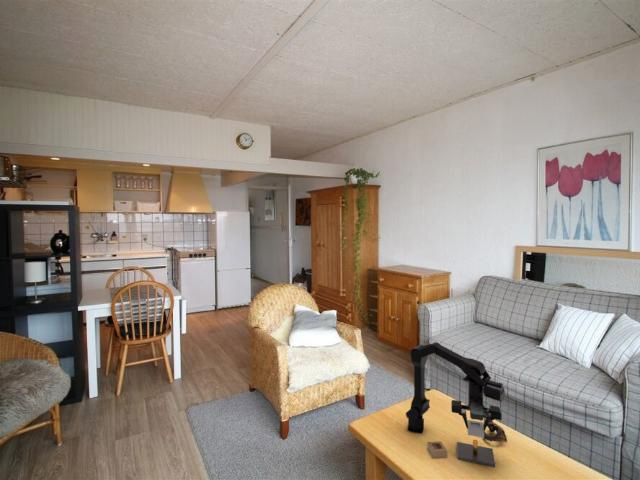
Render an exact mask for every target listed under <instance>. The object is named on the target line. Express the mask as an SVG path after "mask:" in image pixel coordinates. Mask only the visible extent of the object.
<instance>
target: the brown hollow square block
mask: <svg viewBox="0 0 640 480" xmlns="http://www.w3.org/2000/svg"><path fill="white" fill-rule="evenodd" d="M426 442H427V443H426V444H427V445H426V448H427V452H428V453H429V454H430V456H431V458H432V459H437V458H438V459H441V458H443V459H444V458H448V449H447V448H446V447H445V445H444V443H443V442H442V441H441V440H436V441H426Z"/></svg>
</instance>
